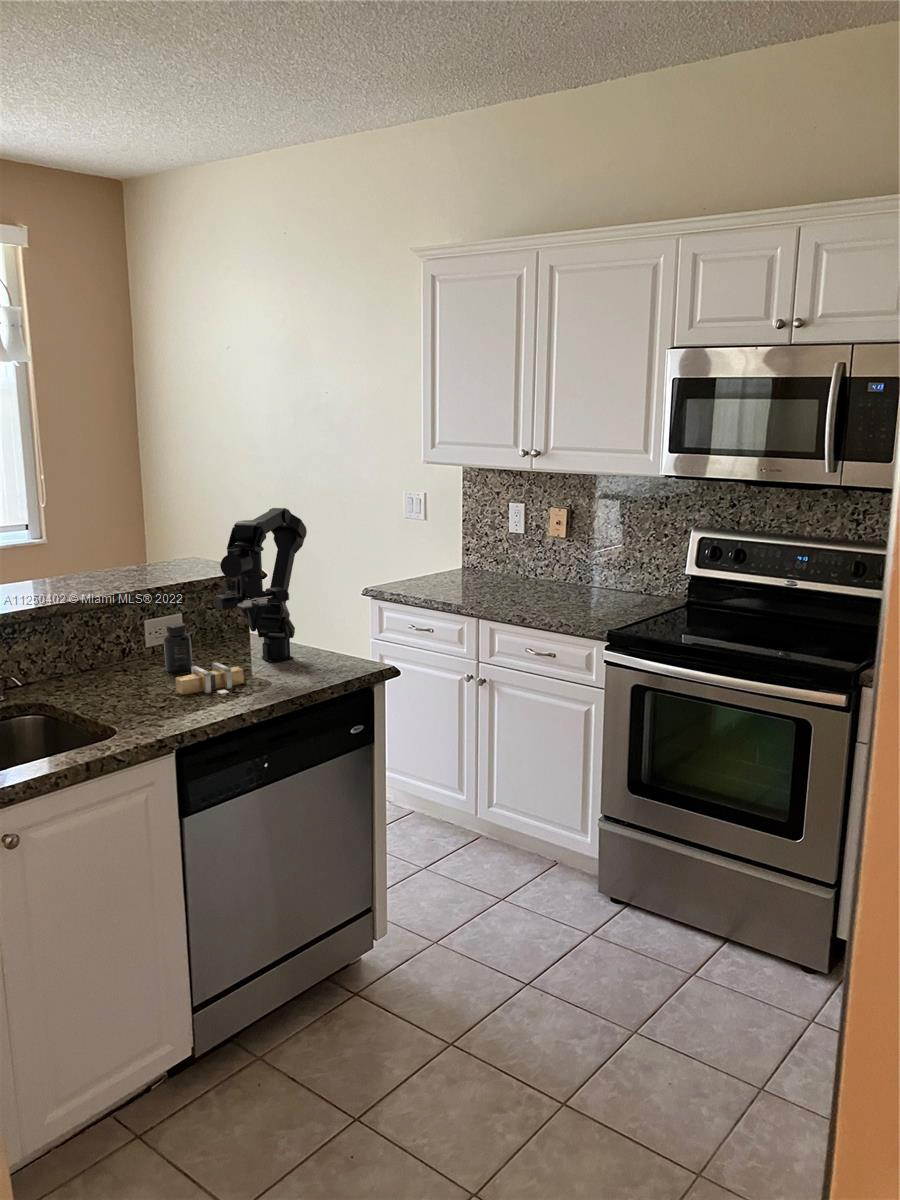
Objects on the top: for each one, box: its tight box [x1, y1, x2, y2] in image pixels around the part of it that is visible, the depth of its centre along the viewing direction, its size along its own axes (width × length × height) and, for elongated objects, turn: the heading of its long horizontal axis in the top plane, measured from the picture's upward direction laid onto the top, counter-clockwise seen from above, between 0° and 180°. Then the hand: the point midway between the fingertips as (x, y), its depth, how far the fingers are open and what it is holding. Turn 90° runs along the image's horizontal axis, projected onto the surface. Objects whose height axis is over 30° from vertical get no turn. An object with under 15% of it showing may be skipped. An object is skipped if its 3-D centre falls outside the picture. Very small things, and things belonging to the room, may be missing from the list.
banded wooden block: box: [175, 666, 245, 696], centre depth 235 cm, size 16×4×4 cm, turn 127°
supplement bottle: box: [163, 622, 194, 673], centre depth 250 cm, size 7×7×12 cm
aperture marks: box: [216, 688, 229, 695], centre depth 235 cm, size 2×14×1 cm, turn 39°
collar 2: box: [211, 661, 233, 690], centre depth 237 cm, size 1×8×5 cm, turn 39°
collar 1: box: [190, 665, 212, 694], centre depth 233 cm, size 1×8×5 cm, turn 39°
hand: (253, 631), depth 246 cm, fingers closed
